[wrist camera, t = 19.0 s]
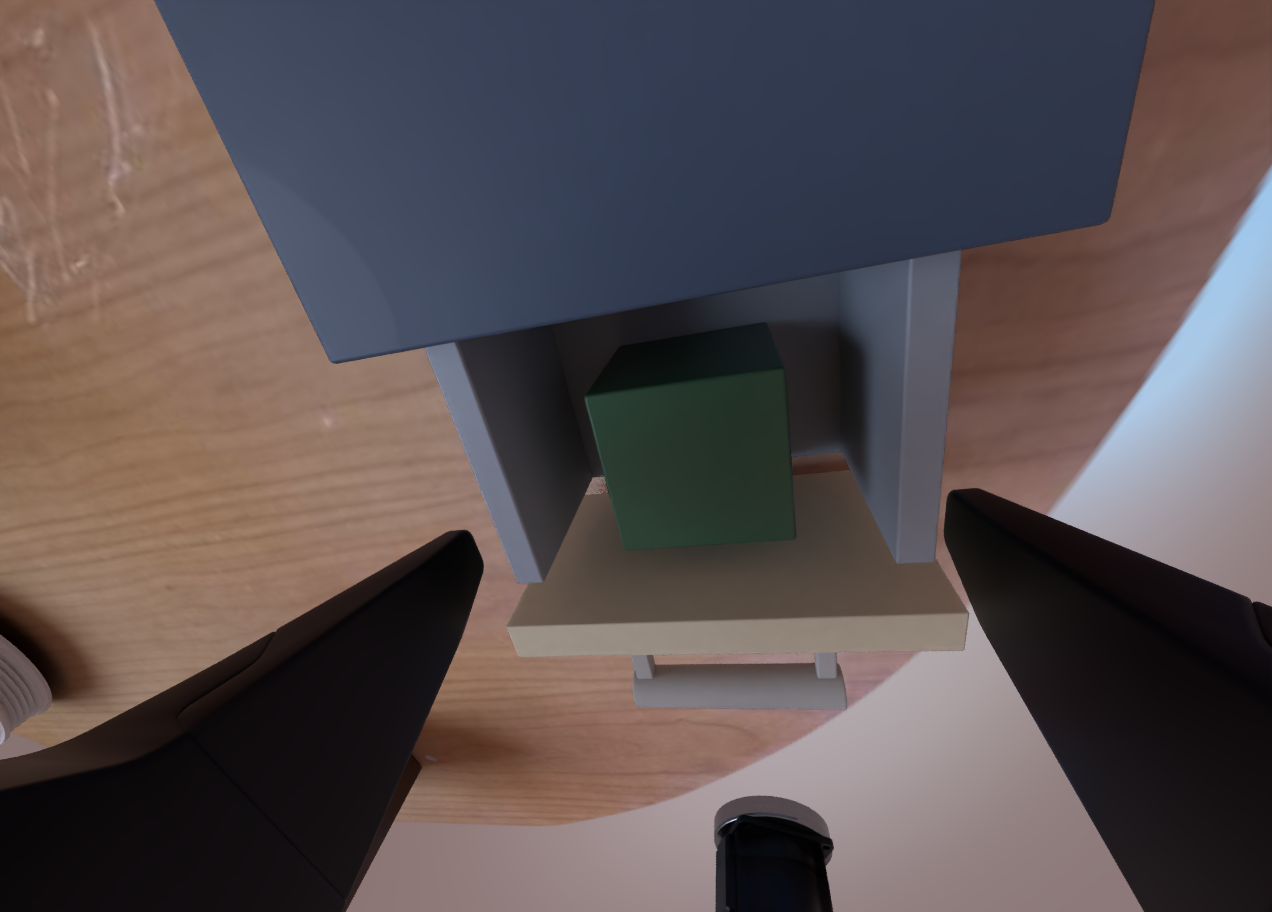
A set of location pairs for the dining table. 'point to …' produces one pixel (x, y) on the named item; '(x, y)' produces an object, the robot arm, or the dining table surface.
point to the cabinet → (646, 144)
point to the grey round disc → (19, 689)
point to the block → (696, 440)
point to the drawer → (744, 572)
